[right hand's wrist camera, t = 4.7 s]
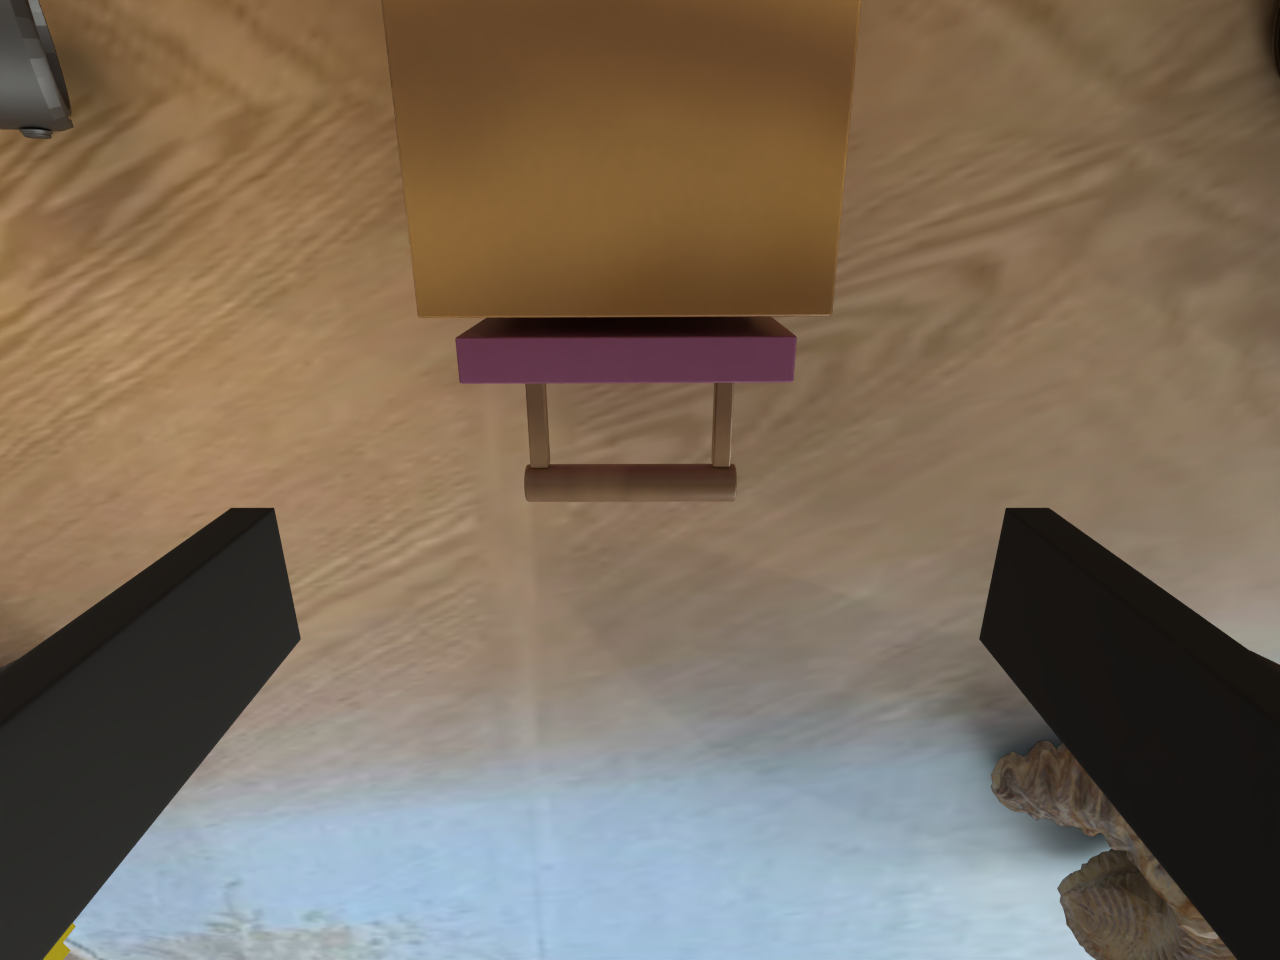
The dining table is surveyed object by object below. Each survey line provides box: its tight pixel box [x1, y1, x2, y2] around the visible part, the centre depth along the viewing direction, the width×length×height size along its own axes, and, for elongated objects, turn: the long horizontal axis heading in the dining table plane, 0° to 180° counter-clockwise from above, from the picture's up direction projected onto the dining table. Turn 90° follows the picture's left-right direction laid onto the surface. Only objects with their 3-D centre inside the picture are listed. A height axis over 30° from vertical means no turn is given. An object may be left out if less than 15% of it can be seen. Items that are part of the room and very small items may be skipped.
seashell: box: [991, 741, 1237, 960], centre depth 34 cm, size 14×10×10 cm
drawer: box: [456, 316, 797, 502], centre depth 20 cm, size 26×9×10 cm, turn 0°
